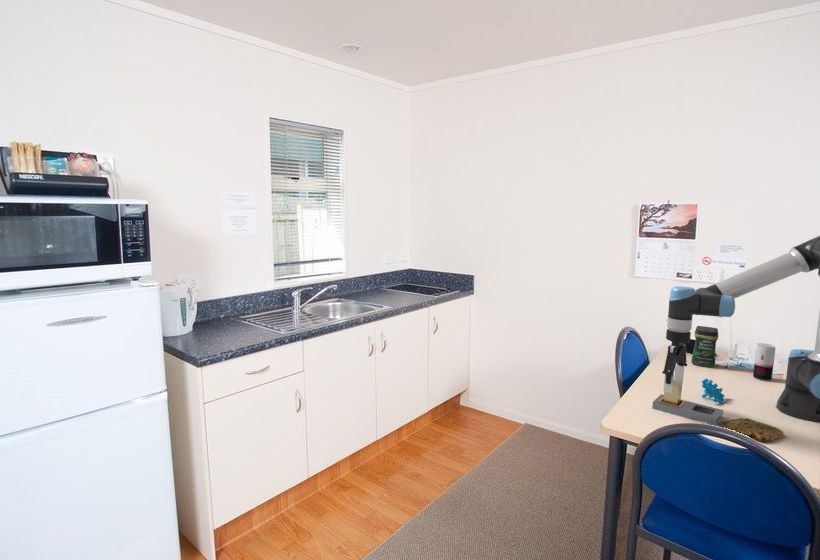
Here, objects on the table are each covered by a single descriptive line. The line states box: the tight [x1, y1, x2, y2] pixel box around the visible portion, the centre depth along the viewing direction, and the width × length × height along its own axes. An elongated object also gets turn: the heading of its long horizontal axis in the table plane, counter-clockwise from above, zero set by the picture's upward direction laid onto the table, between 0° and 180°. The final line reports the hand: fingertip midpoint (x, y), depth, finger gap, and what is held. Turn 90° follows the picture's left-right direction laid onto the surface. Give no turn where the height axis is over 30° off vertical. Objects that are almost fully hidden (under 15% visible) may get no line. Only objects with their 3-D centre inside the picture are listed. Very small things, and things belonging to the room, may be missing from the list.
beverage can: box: [752, 342, 777, 382], centre depth 202 cm, size 7×7×15 cm
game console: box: [686, 338, 717, 357], centre depth 239 cm, size 16×14×9 cm
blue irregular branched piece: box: [700, 378, 725, 404], centre depth 179 cm, size 11×6×10 cm
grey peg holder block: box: [652, 394, 724, 426], centre depth 167 cm, size 20×10×3 cm, turn 46°
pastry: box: [720, 417, 785, 442], centre depth 153 cm, size 17×17×3 cm
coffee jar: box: [690, 325, 719, 368], centre depth 219 cm, size 10×8×19 cm
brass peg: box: [663, 380, 683, 406], centre depth 169 cm, size 4×4×10 cm
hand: (673, 387), depth 169 cm, fingers open, 12 cm apart
